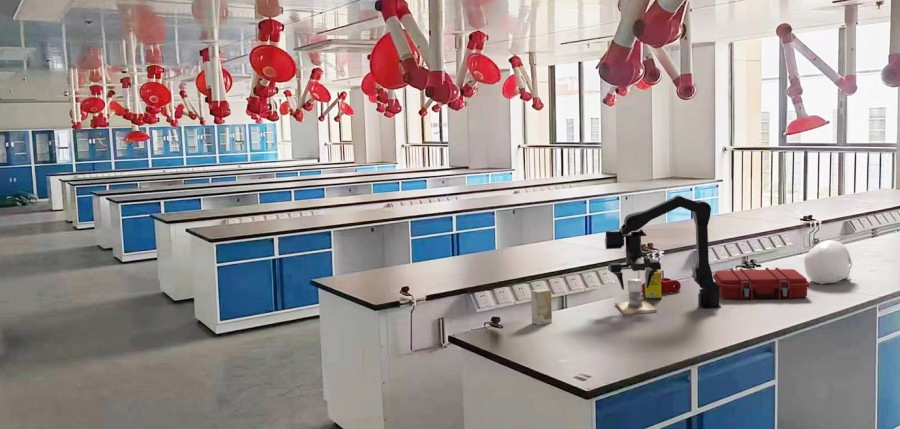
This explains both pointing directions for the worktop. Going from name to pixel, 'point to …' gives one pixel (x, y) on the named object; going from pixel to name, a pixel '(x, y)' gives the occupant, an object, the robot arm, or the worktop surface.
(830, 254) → the lumpy white sphere
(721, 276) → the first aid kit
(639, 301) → the beige square board
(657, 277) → the supplement box
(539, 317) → the skincare box
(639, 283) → the cap
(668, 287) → the mechanical linkage
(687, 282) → the worktop surface
